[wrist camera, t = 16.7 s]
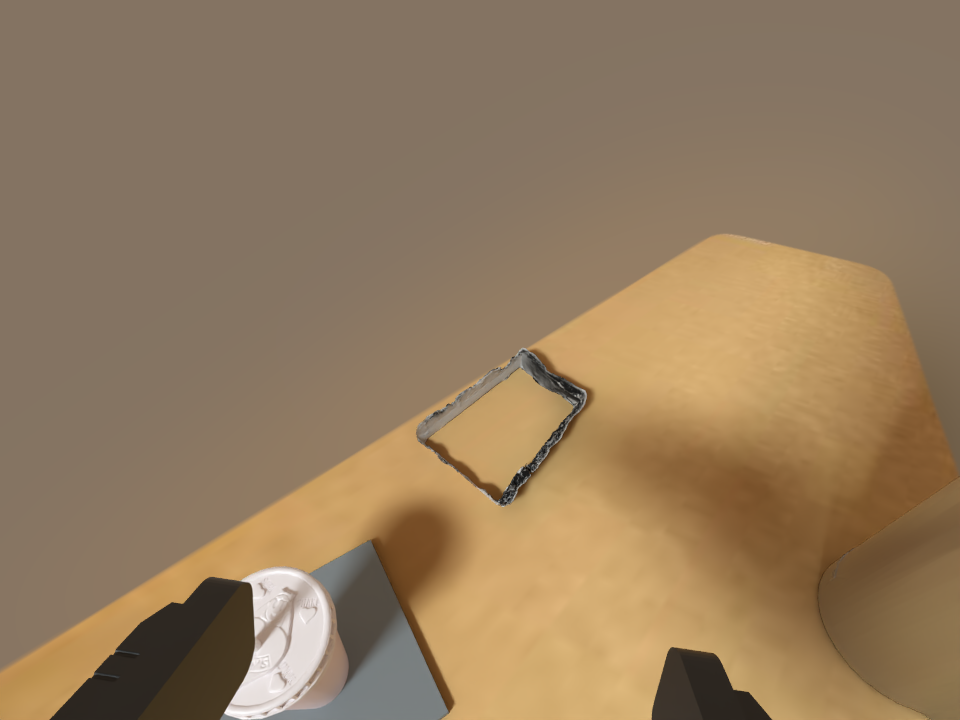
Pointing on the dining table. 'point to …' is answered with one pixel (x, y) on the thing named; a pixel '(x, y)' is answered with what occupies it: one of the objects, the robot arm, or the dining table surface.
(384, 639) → the mat
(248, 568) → the dining table surface
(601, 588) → the dining table surface
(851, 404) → the dining table surface
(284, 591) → the smoothie
